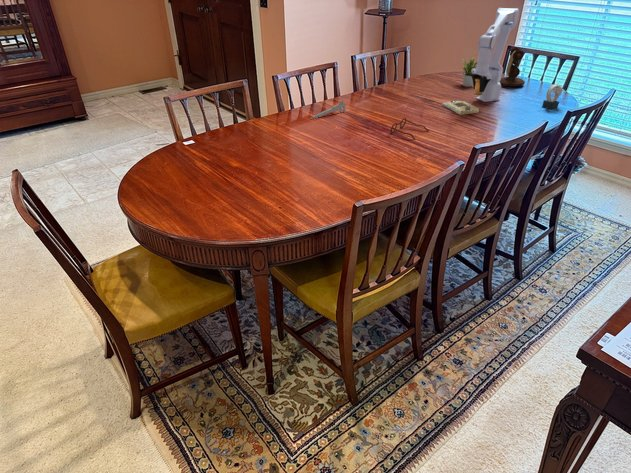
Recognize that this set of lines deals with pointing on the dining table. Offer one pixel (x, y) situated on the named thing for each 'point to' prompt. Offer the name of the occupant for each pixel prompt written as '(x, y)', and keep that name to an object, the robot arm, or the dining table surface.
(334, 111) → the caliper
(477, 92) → the amber jar
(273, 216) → the dining table surface
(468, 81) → the house plant
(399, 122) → the glasses
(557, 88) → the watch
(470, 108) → the pale green hollowed slab
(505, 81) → the brown carved statue
